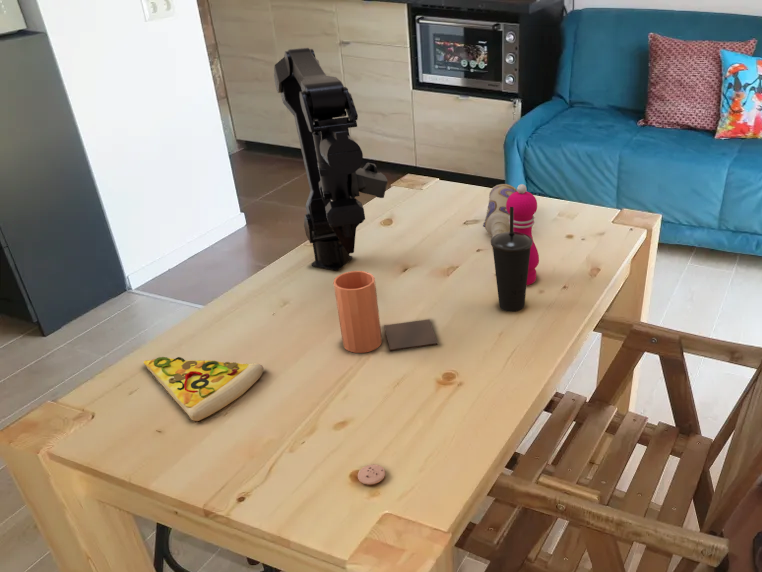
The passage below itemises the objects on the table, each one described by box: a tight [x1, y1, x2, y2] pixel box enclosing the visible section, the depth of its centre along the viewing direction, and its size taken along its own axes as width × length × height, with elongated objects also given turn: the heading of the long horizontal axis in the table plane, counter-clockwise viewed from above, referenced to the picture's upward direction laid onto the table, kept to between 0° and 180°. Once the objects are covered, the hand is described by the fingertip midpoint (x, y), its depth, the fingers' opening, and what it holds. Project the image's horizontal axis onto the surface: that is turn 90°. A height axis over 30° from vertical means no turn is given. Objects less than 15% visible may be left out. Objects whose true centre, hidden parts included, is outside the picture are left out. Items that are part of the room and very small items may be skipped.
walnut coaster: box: [383, 319, 438, 352], centre depth 136 cm, size 8×8×1 cm
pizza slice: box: [143, 356, 265, 422], centre depth 123 cm, size 16×21×3 cm
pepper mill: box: [506, 183, 540, 286], centre depth 148 cm, size 7×7×20 cm
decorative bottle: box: [482, 183, 517, 237], centre depth 170 cm, size 26×8×7 cm, turn 177°
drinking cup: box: [490, 207, 534, 313], centre depth 139 cm, size 8×8×20 cm
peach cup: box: [333, 270, 383, 354], centre depth 130 cm, size 7×7×12 cm
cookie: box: [357, 463, 386, 486], centre depth 105 cm, size 4×4×1 cm
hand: (348, 243), depth 138 cm, fingers open, 9 cm apart
